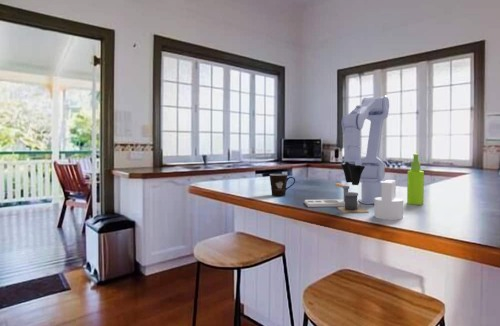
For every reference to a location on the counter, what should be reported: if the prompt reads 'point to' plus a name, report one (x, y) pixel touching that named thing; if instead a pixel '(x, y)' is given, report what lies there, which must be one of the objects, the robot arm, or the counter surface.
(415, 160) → the soap dispenser
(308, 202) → the power strip
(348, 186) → the clip
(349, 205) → the plug
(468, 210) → the counter surface
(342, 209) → the coaster
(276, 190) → the coffee mug
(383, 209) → the base with upright slab
